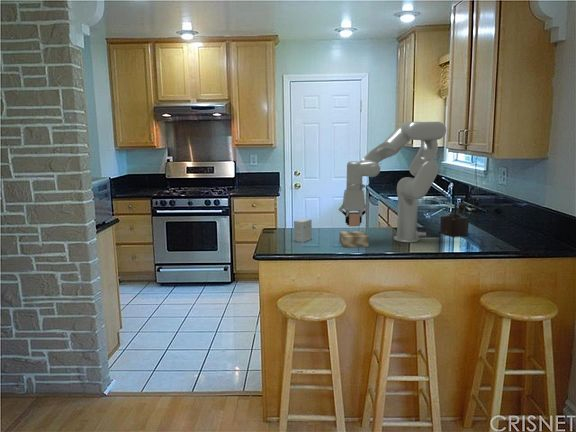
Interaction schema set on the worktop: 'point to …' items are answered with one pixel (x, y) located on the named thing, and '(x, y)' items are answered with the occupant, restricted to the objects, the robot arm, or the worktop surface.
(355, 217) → the terracotta block
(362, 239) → the maple base block
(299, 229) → the small box
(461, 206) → the dark brown boxy piece
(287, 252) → the worktop surface
